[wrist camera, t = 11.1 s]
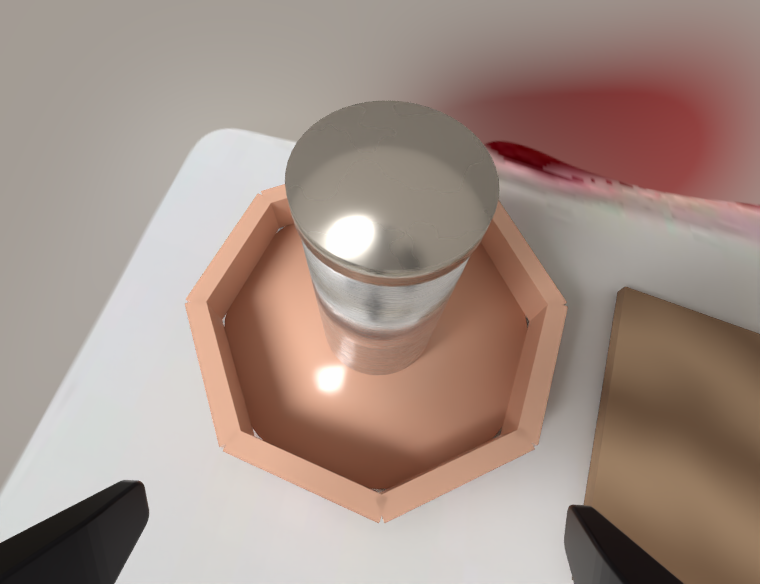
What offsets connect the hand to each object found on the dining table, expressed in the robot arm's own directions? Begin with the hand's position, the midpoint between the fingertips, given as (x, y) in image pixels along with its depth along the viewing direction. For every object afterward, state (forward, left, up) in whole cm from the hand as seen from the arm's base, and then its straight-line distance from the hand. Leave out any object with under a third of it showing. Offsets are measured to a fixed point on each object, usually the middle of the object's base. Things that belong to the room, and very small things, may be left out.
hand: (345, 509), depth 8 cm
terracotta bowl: (+8, +2, -13) cm, 15 cm away
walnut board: (+8, -17, -13) cm, 23 cm away
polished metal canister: (+8, +2, -12) cm, 14 cm away
